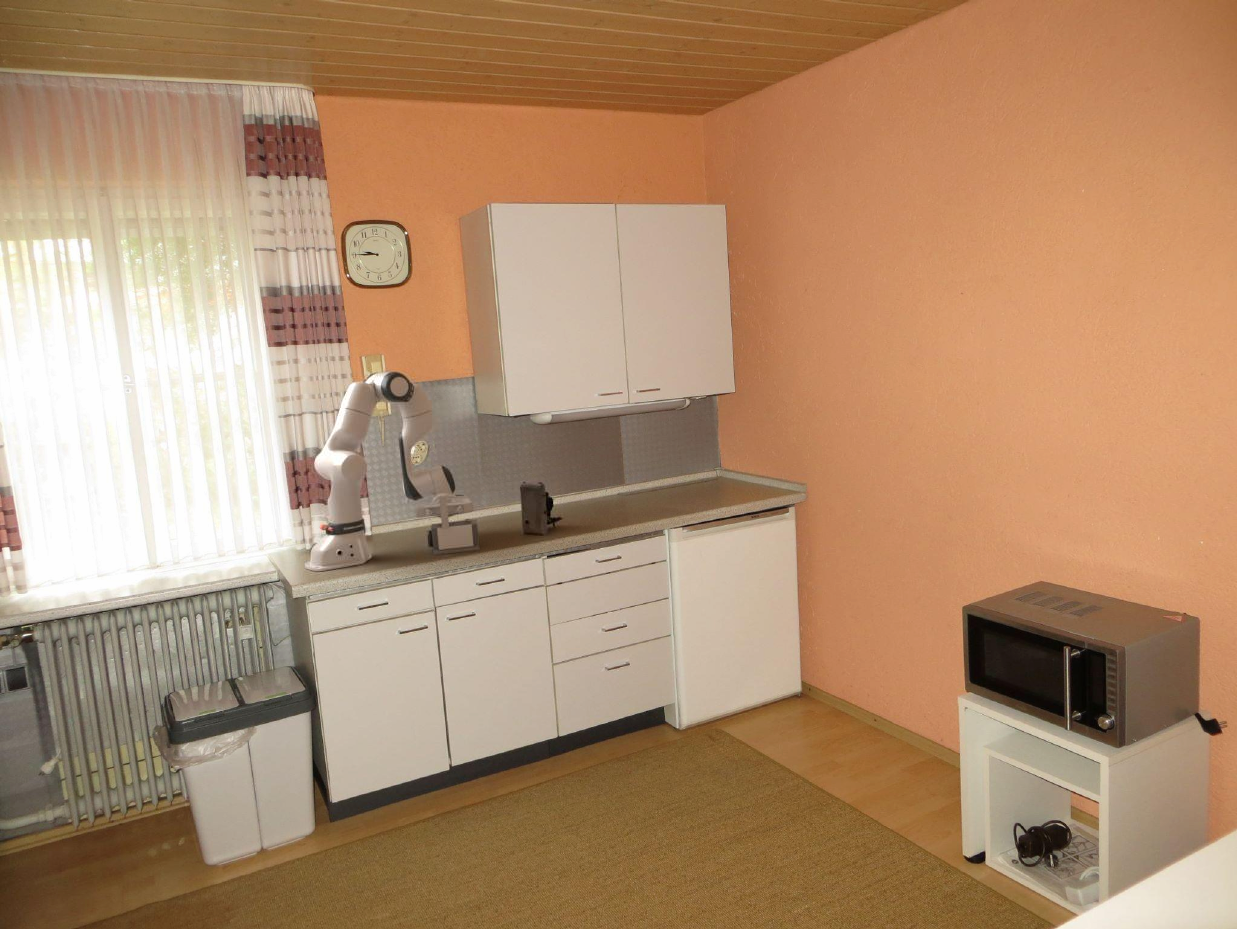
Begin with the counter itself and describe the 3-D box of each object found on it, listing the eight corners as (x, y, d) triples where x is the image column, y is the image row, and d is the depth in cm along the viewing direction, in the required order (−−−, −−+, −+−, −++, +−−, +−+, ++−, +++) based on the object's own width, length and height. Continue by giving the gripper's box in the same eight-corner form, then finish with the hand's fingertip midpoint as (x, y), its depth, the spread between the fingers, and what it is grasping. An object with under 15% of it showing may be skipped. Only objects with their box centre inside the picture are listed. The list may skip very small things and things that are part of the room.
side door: (439, 550, 316) (433, 497, 313) (439, 548, 318) (433, 496, 315) (473, 546, 318) (468, 493, 315) (473, 545, 320) (468, 493, 317)
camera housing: (429, 555, 316) (426, 527, 314) (429, 549, 325) (426, 522, 324) (479, 549, 319) (477, 522, 317) (478, 543, 328) (476, 517, 327)
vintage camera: (566, 528, 347) (562, 477, 345) (543, 535, 334) (539, 482, 332) (545, 527, 352) (542, 477, 350) (522, 535, 339) (518, 482, 337)
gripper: (414, 500, 327) (412, 506, 313) (471, 494, 330) (472, 500, 317) (415, 517, 328) (414, 524, 314) (472, 511, 331) (473, 518, 318)
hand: (444, 512), depth 316 cm, fingers open, 8 cm apart
